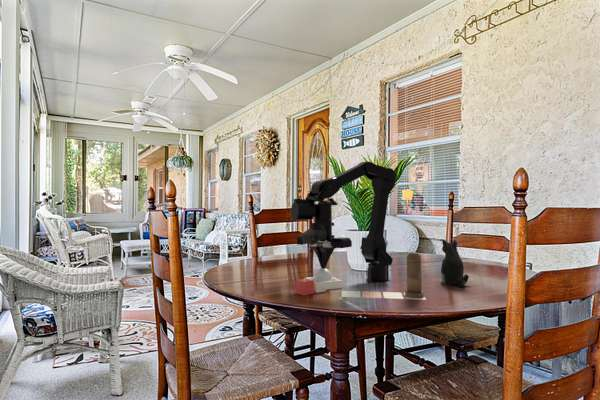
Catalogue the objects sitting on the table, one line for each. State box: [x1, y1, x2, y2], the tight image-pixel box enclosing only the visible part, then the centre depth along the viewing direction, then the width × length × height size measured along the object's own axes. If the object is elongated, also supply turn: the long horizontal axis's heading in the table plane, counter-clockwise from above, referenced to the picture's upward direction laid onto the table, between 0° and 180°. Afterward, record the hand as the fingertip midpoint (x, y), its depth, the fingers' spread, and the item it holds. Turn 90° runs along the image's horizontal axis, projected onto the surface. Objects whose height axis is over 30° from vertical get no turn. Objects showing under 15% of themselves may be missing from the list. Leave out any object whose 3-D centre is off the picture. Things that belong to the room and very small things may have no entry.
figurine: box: [438, 239, 470, 288], centre depth 126 cm, size 10×10×15 cm
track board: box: [339, 290, 427, 301], centre depth 110 cm, size 24×10×1 cm, turn 81°
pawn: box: [404, 251, 425, 298], centre depth 109 cm, size 5×5×13 cm
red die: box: [294, 277, 315, 297], centre depth 116 cm, size 4×4×4 cm
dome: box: [313, 267, 333, 282], centre depth 123 cm, size 6×6×6 cm
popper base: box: [305, 276, 343, 294], centre depth 123 cm, size 9×9×3 cm
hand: (323, 268), depth 123 cm, fingers closed, pressing on dome
